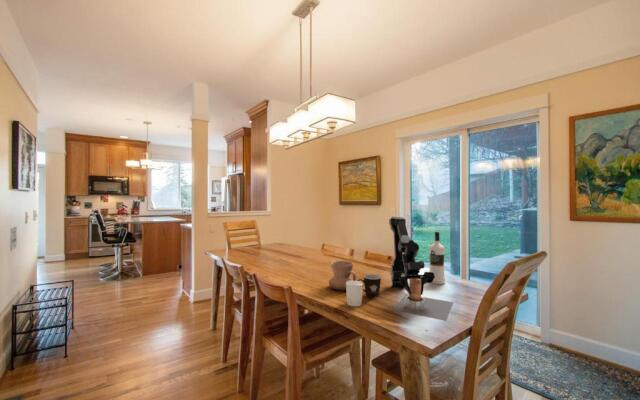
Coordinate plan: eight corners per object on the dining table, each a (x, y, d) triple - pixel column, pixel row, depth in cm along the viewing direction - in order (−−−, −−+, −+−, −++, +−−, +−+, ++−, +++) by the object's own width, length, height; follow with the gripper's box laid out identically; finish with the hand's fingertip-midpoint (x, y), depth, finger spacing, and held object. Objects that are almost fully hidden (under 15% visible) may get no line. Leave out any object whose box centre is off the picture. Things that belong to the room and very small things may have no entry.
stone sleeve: (402, 308, 130) (402, 299, 130) (407, 302, 137) (407, 294, 137) (422, 312, 125) (422, 303, 125) (426, 306, 133) (426, 297, 133)
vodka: (448, 283, 171) (449, 232, 171) (436, 285, 168) (436, 233, 167) (436, 279, 180) (437, 230, 179) (424, 281, 176) (425, 231, 176)
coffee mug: (382, 295, 150) (382, 275, 150) (378, 300, 142) (378, 280, 142) (360, 292, 155) (360, 273, 155) (355, 297, 147) (355, 277, 147)
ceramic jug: (321, 287, 163) (322, 261, 163) (340, 282, 173) (340, 258, 172) (345, 296, 150) (345, 268, 149) (363, 290, 159) (364, 264, 159)
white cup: (344, 301, 141) (344, 280, 141) (360, 300, 142) (360, 280, 142) (347, 307, 133) (347, 285, 133) (364, 306, 134) (364, 285, 134)
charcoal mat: (391, 311, 128) (391, 309, 128) (406, 296, 149) (406, 294, 149) (446, 323, 117) (446, 320, 117) (453, 304, 138) (453, 302, 138)
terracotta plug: (406, 305, 132) (407, 279, 132) (413, 303, 135) (413, 277, 135) (416, 309, 128) (416, 281, 128) (423, 306, 131) (423, 279, 131)
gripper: (392, 253, 135) (397, 285, 125) (433, 254, 134) (442, 285, 124) (389, 266, 143) (393, 297, 132) (428, 267, 142) (435, 298, 132)
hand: (415, 294), depth 130 cm, fingers closed on terracotta plug, 5 cm apart
